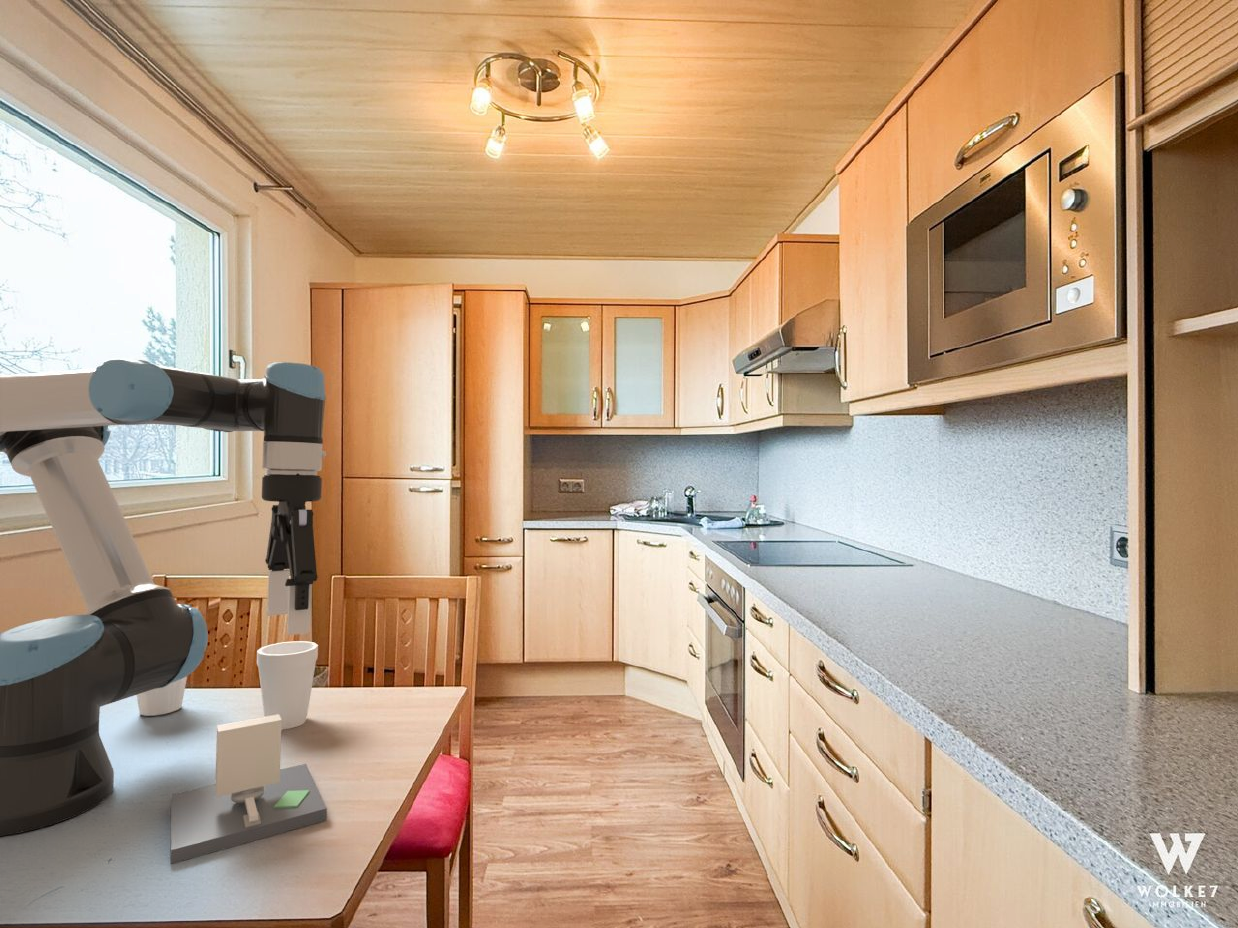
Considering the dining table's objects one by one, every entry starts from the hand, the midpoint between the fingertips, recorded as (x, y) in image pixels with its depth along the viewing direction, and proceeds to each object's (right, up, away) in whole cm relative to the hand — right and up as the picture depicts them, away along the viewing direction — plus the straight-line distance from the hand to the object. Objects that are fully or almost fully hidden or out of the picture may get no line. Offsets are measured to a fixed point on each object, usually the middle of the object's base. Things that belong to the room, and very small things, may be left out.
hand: (287, 623), depth 89 cm
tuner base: (-1, -22, -8) cm, 24 cm away
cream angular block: (+1, -21, -10) cm, 23 cm away
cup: (-37, -23, +26) cm, 50 cm away
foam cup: (-12, -23, +22) cm, 34 cm away
